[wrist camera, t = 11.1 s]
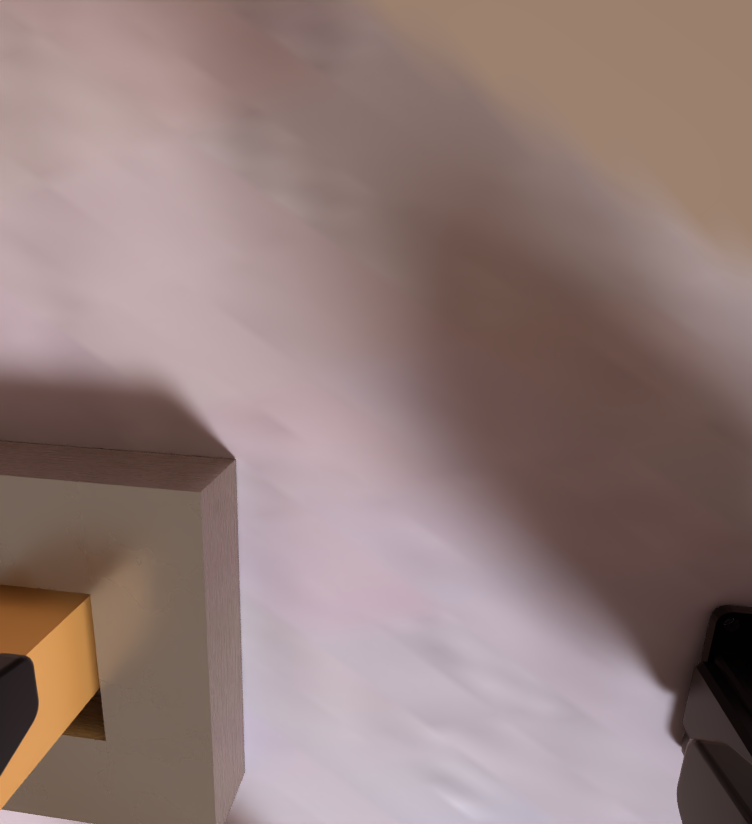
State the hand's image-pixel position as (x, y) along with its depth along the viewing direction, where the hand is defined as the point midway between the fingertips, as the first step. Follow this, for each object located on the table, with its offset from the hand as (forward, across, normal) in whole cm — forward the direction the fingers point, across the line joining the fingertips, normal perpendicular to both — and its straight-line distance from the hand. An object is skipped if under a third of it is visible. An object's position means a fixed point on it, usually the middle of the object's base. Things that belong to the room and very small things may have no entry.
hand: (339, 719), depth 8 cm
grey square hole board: (+12, +13, +8) cm, 19 cm away
